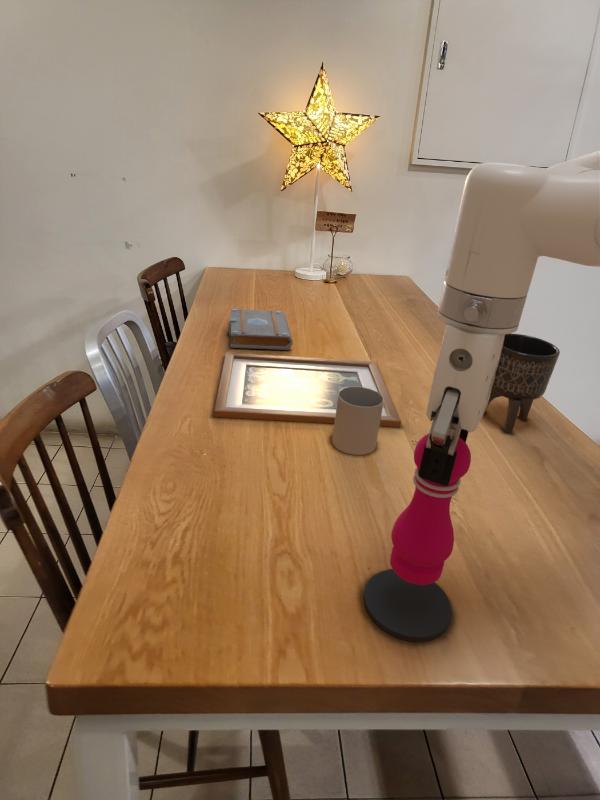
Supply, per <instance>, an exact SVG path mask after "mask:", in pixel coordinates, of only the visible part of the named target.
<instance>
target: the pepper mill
mask: <svg viewBox="0 0 600 800" xmlns="http://www.w3.org/2000/svg"><path fill="white" fill-rule="evenodd" d="M453 433H454V429H451V428H449V431H448V435H449V436H451V439H452V436H453ZM428 436H429V433H427V434H424V435H423V437H421V438H420V439H419V440H418V442H417V443H416V446H415V447H414V451H413V461H414V464H415V466H416V468H415V470H414V475H413V477H412V482H413V484H414V486H415V488H414V493H413V495H412V498H411V500H410V502H409V504H408V505H407V506H406V508H404V510H402V511H401V513H400V514H399V515H398V516H397V518H396V520H395V522H394V523H393V526H392V530H391V533H390V539H391V543H392V545H393V546H392V548H391V554H390V558H389V563H390V567H391V569H393V571H394V572H395V573H396V574H397V575H398V576H399V577H400V578H402V579H403V580H405V581H407V582H410V583H413V584H418V585H428V584H431V583H434V582H435V583H436V582H437V581H439V579H440V578H441V576H442V573H443V570H444V566H445V561H446V560H447V559H449V558H450V556H451V555H452V553H453V550H454V544H455V532H454V527H453V522H452V517H451V513H450V512H451V511H450V509H451V508H450V507H451V501H452V497H454V496H455V495H456V494H457V493H458V492H459V489H460V488H459V486H460V485H461V478H463V477H465V475H466V474H467V473H468V472H469V469H470V467H471V463H472V454H471V450H470V447H469V445H468V444H467V442H466V443H465V442H464V441H463V440H462V439H461V438H460V437H459V438H458V442H457V445H456V448H455V451H456V452H457V456H456V460H455V464H454V467H453V471H452V475H451V479H450V482H449V484H448V486H443V485H440V484H437V483H434V482H431V481H428V480H425V479H422V478H420V477H419V475H418V474H419V469H420V465H421V461H422V456H423V452H424V447H425V444H426V442H427V440H428Z"/></svg>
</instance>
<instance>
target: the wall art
mask: <svg viewBox="0 0 600 800" xmlns="http://www.w3.org/2000/svg"><path fill="white" fill-rule="evenodd" d="M347 387H364V388H369V389H372V390H374V391H376V392H378V393H380V394H381V395H382V396H383V399H384V403H383V409H382V414H381V420H380V426H379V427H389V428H400V427H401V425H402V420H401V417H400V415H399V414H398V413H399V412H398V411H397V409H396V406H395V404H394V402H393V399H392V397H391V394H390V393H389V390H388V387H387V385H386V383H385V380H384V379H383V376H382V374H381V371H380V369H379V367H378V365H377V362H376V361H370V360H369V361H367V360H353V359H352V360H351V359H339V358H338V359H336V358H323V357H322V358H321V357H307V356H306V357H305V356H293V355H292V356H291V355H278V354H277V355H275V354H262V353H261V354H259V353H245V352H231V351H226V352H225V355H224V359H223V365H222V369H221V373H220V379H219V384H218V389H217V394H216V399H215V404H214V408H213V417H214V418H225V419H243V420H259V421H260V420H261V421H262V420H263V421H278V422H280V421H281V422H296V423H301V422H302V423H317V424H332V425H334V423H335V416H336V408H337V401H338V394H339V391H340V390H342V389H343V388H347Z"/></svg>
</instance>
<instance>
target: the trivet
mask: <svg viewBox="0 0 600 800" xmlns="http://www.w3.org/2000/svg"><path fill="white" fill-rule="evenodd" d="M450 601H451V600H450V599H449V597H448V595H447V594H446V593H445V591H444V590H443V589H442V587H441V586H439V584H437V583H436V581H435V582H434V583H431V584H428V585H418V584H413V583H410V582H407V581H405V580H403V579H402V578H400V577H399V576H398V575H397V574H396V573H395V572H394V571H393V569H392V568H390V569H386V570H383V571H380V572H377V573H375V574H374V575H373V576H372V577H371V578H370V579H369V580H368V582H367V583H366V585H365V588H364V593H363V604H364V608H365V611H366V613H367V615H368V617H369V618H370V619H371V620H372V621H373V623H374V624H375V625H376V626H377V627H378V628H380V629H381V630H382V631H383V632H385V633H386V634H388V635H390V636H392V637H394V638H397V639H400V640H403V641H409V642H414V643H415V642H416V643H419V642H429V641H432V640H435V639H437V638H439V637H440V636H441V635H443V634H444V633H445V632H446V630H447V629H448V628H449V625H450V623H451V620H452V614H453V613H452V611H453V610H452V605H451V602H450Z"/></svg>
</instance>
